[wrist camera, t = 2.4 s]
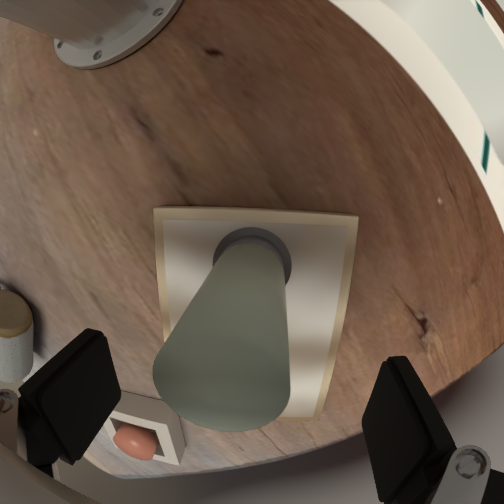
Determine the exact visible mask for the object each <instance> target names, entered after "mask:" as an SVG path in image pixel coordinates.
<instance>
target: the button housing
mask: <svg viewBox="0 0 504 504" xmlns="http://www.w3.org/2000/svg"><path fill="white" fill-rule="evenodd" d="M123 422H127V423H131V424H134V425H138V426H141V427H145V428H149V429H153V430H156V433H157V434H155V433H153V434H154V435H155V436H156V437H157V438H158V441H159V444H158V446H157V449H156V451H155V453H154V456H153V458H152V459H154V460H158V461H162V462H166V463H171V464H175V465H180V463H181V459H182V456H183V453H184V450H185V447H186V445H185V441H184V437H183V433H182V429H181V424H180V420H179V415H178V414H177V413H176V412H175V411H173V410H172V409H171V408H170V407H169V406H168V405H167V404H166V403H165V402H164V401H162V400H158V399H153V398H149V397H144V396H140V395H136V394H132V393H128V392H124V391H121V399H120V401H119V402H118V404H117V405H116V407H115V408H114V410H113V411H112V413H111V414H110V416H109V417H108V419H107V420H106V422H105V423H104V426H105V428H106V430H107V432H108V434H109V436H110V438H111V440H112V442H113V444H114V446H115V447H116V448H118V447H117V446H116V445H115V443H114V441H113V437H114V435H115V433H116V432H117V430H118V428H119V426H120V425H121V423H123ZM118 449H119V448H118Z"/></svg>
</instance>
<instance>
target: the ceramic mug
mask: <svg viewBox="0 0 504 504" xmlns="http://www.w3.org/2000/svg"><path fill="white" fill-rule="evenodd" d="M33 328H34V324H33V317H32V312H31V309H30V308H29V306H28V304H27V303H26V301H25V300H24V299H23V298H21V297H20V296H19V295H17V294H15V293H13V292H11V291H7V290H1V287H0V381H2V382H8V383H9V382H11V383H12V382H18V381H20V380H22V379H24V378H25V377H26V376H27V375H28V374H29V373H30V371H31V369H32V367H33Z"/></svg>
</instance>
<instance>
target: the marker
mask: <svg viewBox="0 0 504 504" xmlns="http://www.w3.org/2000/svg"><path fill="white" fill-rule="evenodd" d="M153 380H154V384H155V387H156V389H157V391H158V393H159V395H160V396H161V398H162V399H163V400H164V402H165V403H166V404H167V405H168V406H169V407H170V408H171V409H172V410H173V411H175V412H176V413H177V414H178V415H180V416H181V417H183V418H185V419H186V420H188V421H190V422H192V423H194V424H197V425H199V426H202V427H205V428H208V429H212V430H218V431H226V432H240V431H248V430H253V429H256V428H260V427H262V426H265V425H267V424H269V423H270V422H272V421H273V420H275V419H276V418H277V417H279V416H280V415H281V414H282V412H283V411H284V410H285V408H286V406H287V404H288V402H289V399H290V392H291V386H290V362H289V341H288V323H287V306H286V290H285V276H284V263H283V258H282V255H281V253H280V251H279V250H278V248H277V247H276V246H275V245H274V244H273V243H272V242H271V241H269V240H267V239H265V238H263V237H260V236H255V235H247V236H242V237H239V238H237V239H235V240H233V241H232V242H231V243H230V244H229V245H228V246H227V247H226V248H225V250H224V251H223V253H222V254H221V256H220V257H219V259H218V260H217V262H216V263H215V265H214V266H213V268H212V269H211V271H210V273H209V274H208V276H207V277H206V279H205V280H204V282H203V283H202V285H201V286H200V288H199V290H198V291H197V293H196V294H195V296H194V297H193V299H192V300H191V302H190V304H189V305H188V307H187V308H186V310H185V311H184V313H183V315H182V316H181V318H180V319H179V321H178V323H177V324H176V326H175V327H174V329H173V330H172V332H171V334H170V335H169V337H168V338H167V340H166V342H165V343H164V345H163V347H162V348H161V350H160V351H159V353H158V355H157V356H156V359H155V361H154V365H153Z"/></svg>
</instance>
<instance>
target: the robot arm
mask: <svg viewBox="0 0 504 504" xmlns="http://www.w3.org/2000/svg"><path fill="white" fill-rule="evenodd" d="M181 2H182V0H0V17H2V18H5V19H8V20H11V21H14V22H16V23H19V24H22V25H24V26H27V27H29V28H32V29H34V30H37V31H39V32H41V33H44V34H46V35H48V36H51V37H53V38H54V47H55V52H56V54H57V56H58V57H59V59H60V60H61V61H62V62H64V63H65V64H67V65H69V66H72V67H74V68H79V69H95V68H99V67H103V66H106V65H109V64H111V63H114V62H116V61H119V60H120V59H122V58H124V57H126V56H127V55H129V54H131V53H133V52H134V51H135V50H137V49H138V48H140V47H141V46H143V45H144V44H145V43H147V42H148V41H149V40H150V39H151V38H152V37H154V36H155V35H156V34H157V33H158V32H159V31H160V30H161V29H162V28H163V27H164V26H165V25H166V24H167V23H168V22H169V20H170V19H171V18H172V16H173V15H174V14H175V12H176V11H177V9H178V7H179V6H180V4H181ZM18 390H19V392H20V394H21V397H20V398H18V396H17V394H16V393H15V392H14V391H12V390H9V389H0V504H102V503H99V502H97V501H95V500H93V499H91V498H89V497H87V496H85V495H83V494H81V493H79V492H77V491H75V490H73V489H71V488H69V487H67V486H66V485H64V484H62V483H61V482H60V478H59V472H58V467H57V461H56V460H57V459H58V457H60V459H61V460H63V461H65V462H66V463H68V464H70V465H73V464H74V463H75V461H76V460H80V459H81V457H82V456H83V454H84V453H85V451H86V450H87V448H88V447H89V445H90V444H91V442H92V441H93V439H94V438H95V436H96V435H97V433H98V432H99V430H100V429H101V427H102V426H103V424H104V423H105V422H106V420H107V419H108V417H109V416H110V414H111V413H112V411H113V410H114V408H115V407H116V405H117V404H118V402H119V401H120V399H121V389H120V386H119V383H118V379H117V376H116V372H115V369H114V365H113V361H112V357H111V353H110V349H109V345H108V341H107V338H106V337H105V336H104V334H103V333H102V332H101V331H98V330H94V329H90V328H87V329H85V330H84V331H83V332H82V333H80V334H79V335H78V336H77V337H76V338H75V339H73V340H72V341H71V342H70V343H69V344H68V345H66V346H65V347H64V348H63V349H62V350H61V351H59V352H58V353H57V354H56V355H55V356H54V357H53V358H52V359H50V360H49V361H48V362H47V363H46V364H45V365H44V366H43V367H41V368H40V369H39V370H38V371H37V372H36V373H35V374H34V375H33V376H31V377H30V378H29V379H28V380H27V381H26V382H25V383H24V384H23V385H22V386H21V387H20V388H19V389H18ZM362 428H363V432H364V436H365V440H366V444H367V448H368V453H369V457H370V461H371V465H372V470H373V474H374V479H375V484H376V488H377V493H378V498H379V501H380V502H384V504H504V473H502V472H499V471H496V470H493V469H490V467H491V461H490V458H489V456H488V454H487V453H486V452H485V451H484V450H483V449H482V448H480V447H478V446H474V445H465V446H462V447H460V448H458V449H457V448H456V446H455V443H454V441H453V438H452V436H451V434H450V433H449V431H448V429H447V427H446V425H445V423H444V421H443V419H442V417H441V415H440V414H439V412H438V410H437V408H436V406H435V404H434V403H433V401H432V399H431V397H430V396H429V394H428V392H427V390H426V389H425V387H424V385H423V383H422V382H421V380H420V378H419V377H418V375H417V373H416V372H415V370H414V368H413V367H412V365H411V363H410V362H409V360H408V358H407V357H406V356H393V357H389V358H388V359H387V361H384V362H383V363H382V365H381V368H380V371H379V374H378V377H377V380H376V382H375V385H374V388H373V391H372V394H371V396H370V399H369V402H368V404H367V407H366V409H365V412H364V414H363V417H362Z"/></svg>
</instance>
